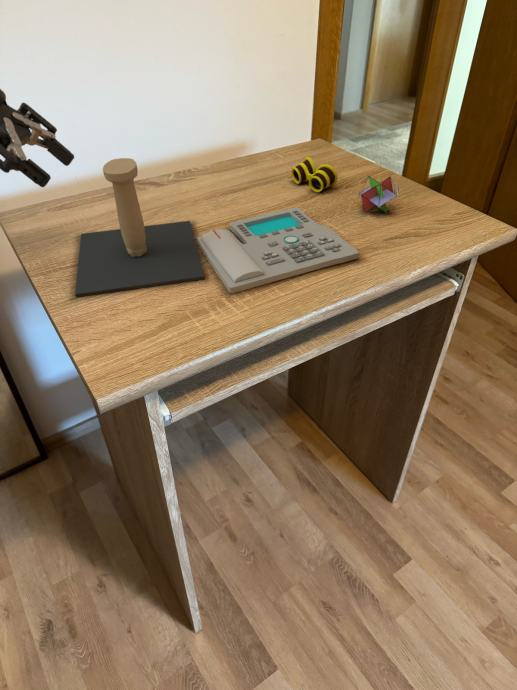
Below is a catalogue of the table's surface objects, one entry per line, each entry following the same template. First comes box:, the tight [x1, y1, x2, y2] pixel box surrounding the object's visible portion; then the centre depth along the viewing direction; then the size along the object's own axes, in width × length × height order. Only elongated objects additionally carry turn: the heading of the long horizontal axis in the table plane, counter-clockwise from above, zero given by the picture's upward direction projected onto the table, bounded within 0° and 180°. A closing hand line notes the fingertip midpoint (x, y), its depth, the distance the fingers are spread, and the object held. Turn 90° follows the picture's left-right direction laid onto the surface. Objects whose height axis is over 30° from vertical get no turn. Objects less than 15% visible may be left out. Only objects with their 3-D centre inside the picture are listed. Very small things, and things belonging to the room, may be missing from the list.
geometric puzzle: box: [358, 175, 400, 214], centre depth 93 cm, size 7×7×8 cm
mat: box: [74, 220, 206, 298], centre depth 83 cm, size 20×20×1 cm
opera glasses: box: [290, 156, 339, 193], centre depth 104 cm, size 10×5×5 cm, turn 39°
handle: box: [102, 157, 147, 257], centre depth 78 cm, size 5×6×15 cm
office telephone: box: [197, 207, 360, 294], centre depth 84 cm, size 23×3×20 cm
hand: (59, 171), depth 75 cm, fingers open, 8 cm apart
